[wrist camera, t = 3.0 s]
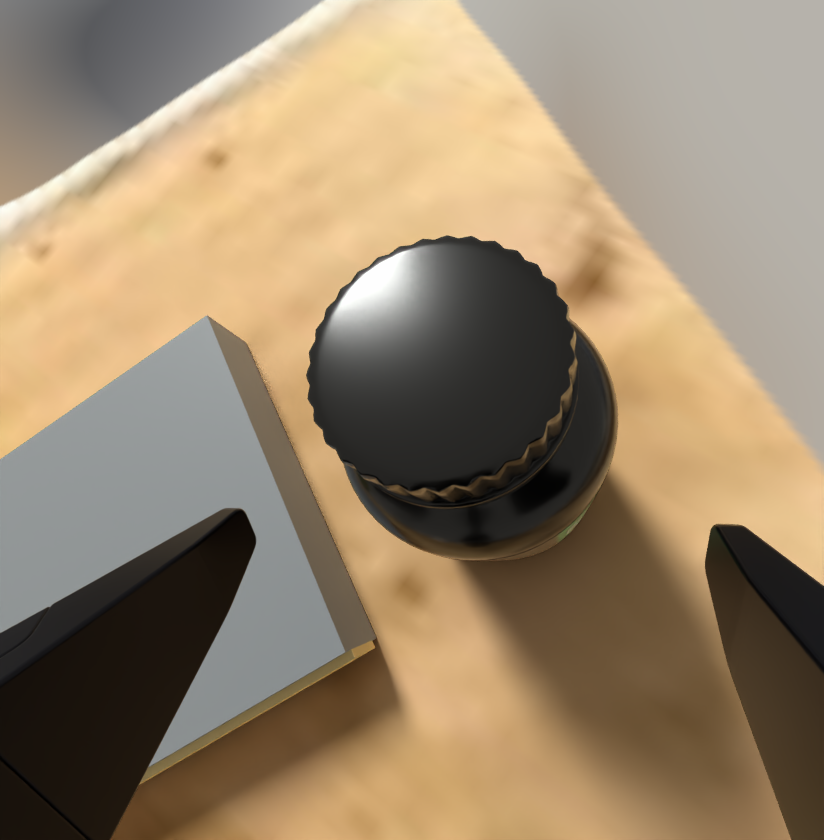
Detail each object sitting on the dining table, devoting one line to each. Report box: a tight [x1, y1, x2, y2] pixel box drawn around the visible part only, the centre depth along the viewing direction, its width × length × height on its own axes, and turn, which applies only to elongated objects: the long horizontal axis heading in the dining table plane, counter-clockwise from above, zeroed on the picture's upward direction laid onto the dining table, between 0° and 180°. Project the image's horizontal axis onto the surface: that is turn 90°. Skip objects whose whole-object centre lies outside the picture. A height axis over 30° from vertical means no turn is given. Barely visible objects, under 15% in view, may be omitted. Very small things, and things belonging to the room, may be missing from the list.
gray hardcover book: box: [0, 316, 376, 785], centre depth 21 cm, size 16×20×3 cm
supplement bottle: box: [306, 236, 618, 561], centre depth 13 cm, size 7×7×12 cm
